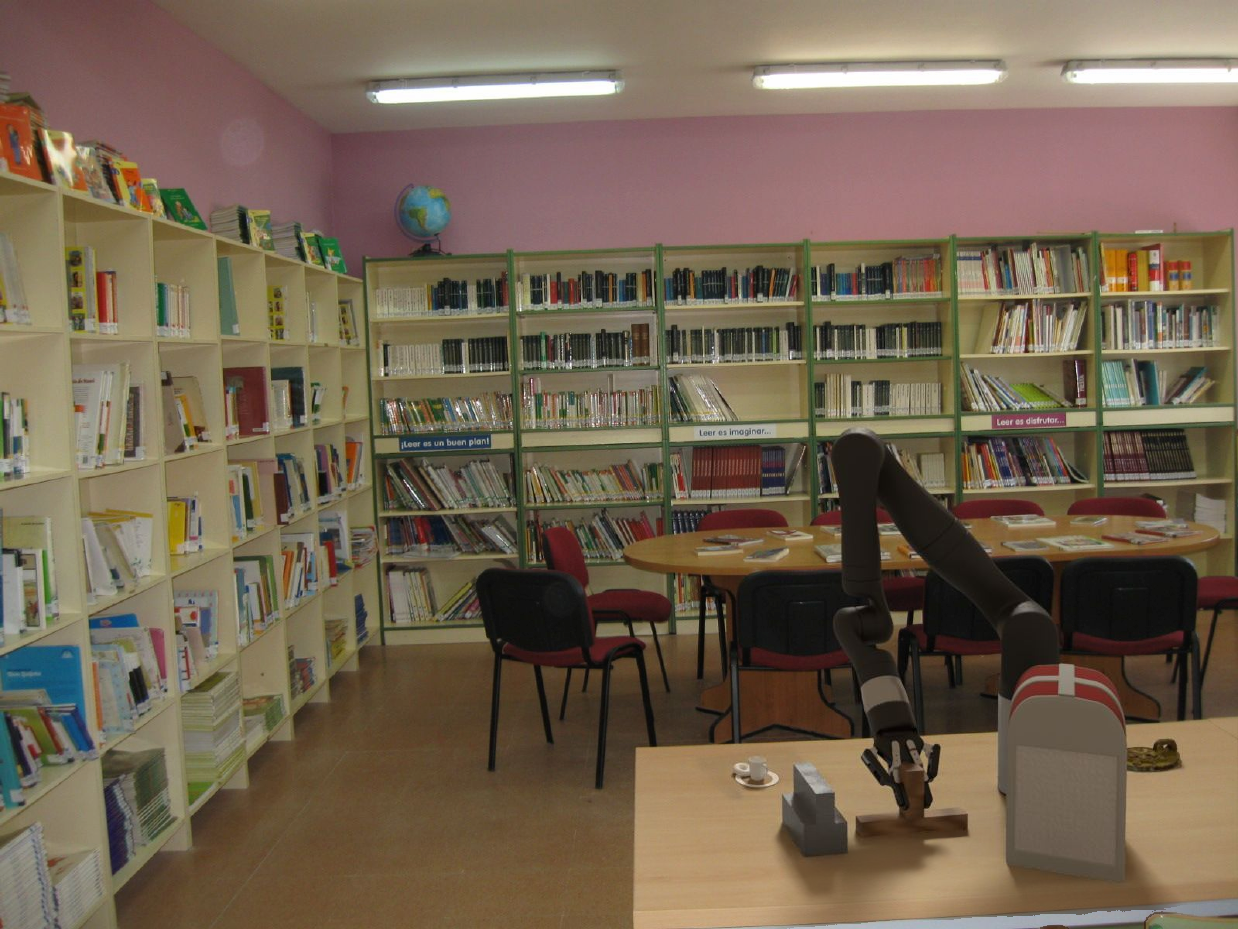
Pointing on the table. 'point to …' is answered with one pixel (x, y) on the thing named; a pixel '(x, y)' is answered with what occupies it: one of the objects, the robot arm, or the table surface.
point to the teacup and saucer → (754, 771)
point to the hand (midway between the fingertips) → (916, 807)
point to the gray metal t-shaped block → (813, 814)
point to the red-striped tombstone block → (1066, 773)
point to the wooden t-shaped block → (912, 812)
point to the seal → (1153, 756)
